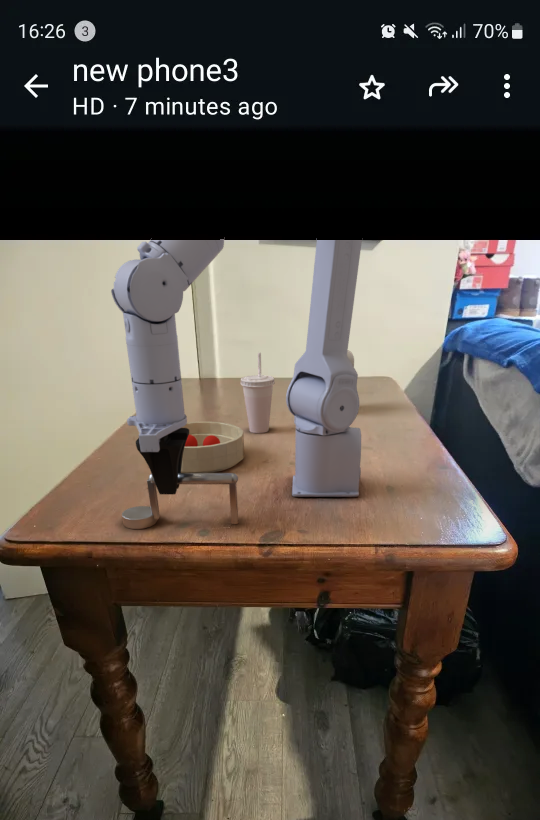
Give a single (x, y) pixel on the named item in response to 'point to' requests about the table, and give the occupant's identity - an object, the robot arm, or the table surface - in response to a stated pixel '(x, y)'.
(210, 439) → the tomato
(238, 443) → the bowl
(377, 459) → the table surface
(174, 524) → the table surface
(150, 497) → the bent metal rod stand
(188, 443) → the tomato
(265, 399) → the smoothie
